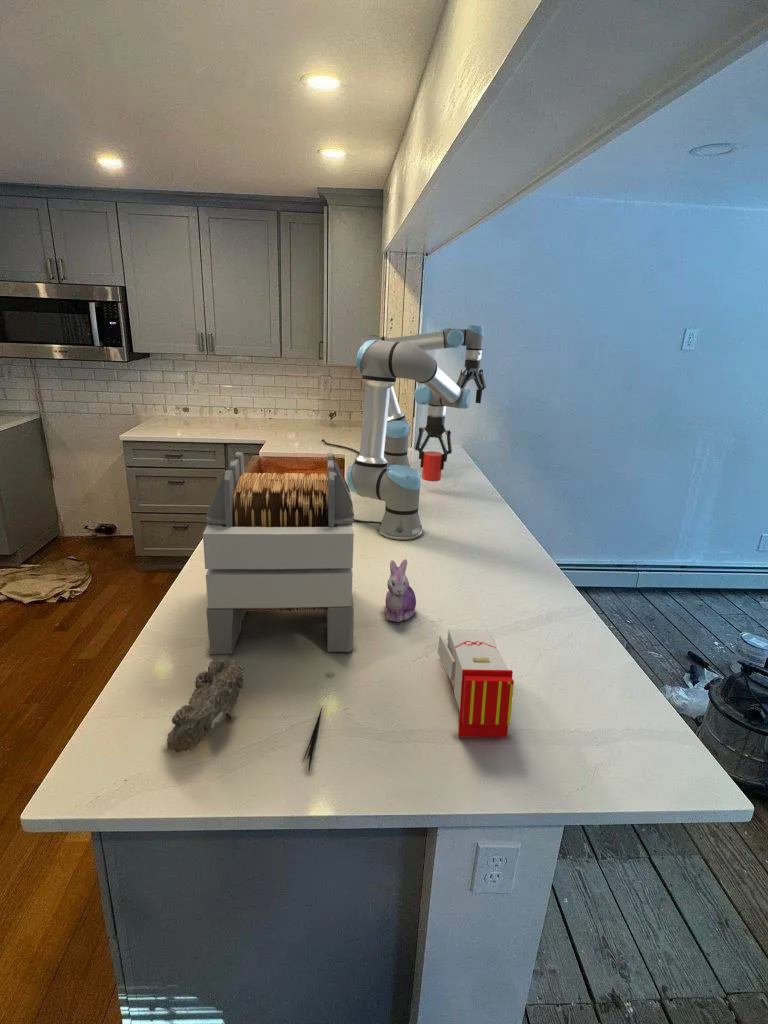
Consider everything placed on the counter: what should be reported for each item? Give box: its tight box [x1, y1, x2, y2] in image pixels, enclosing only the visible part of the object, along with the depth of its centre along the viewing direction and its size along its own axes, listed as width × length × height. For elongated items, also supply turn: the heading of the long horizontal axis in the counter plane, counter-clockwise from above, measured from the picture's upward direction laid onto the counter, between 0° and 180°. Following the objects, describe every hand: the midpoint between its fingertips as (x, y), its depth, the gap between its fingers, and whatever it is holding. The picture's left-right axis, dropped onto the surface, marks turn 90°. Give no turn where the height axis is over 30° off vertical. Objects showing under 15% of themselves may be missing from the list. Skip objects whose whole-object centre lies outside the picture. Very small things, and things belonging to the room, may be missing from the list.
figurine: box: [384, 558, 417, 623], centre depth 145 cm, size 9×10×15 cm
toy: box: [437, 628, 515, 738], centre depth 117 cm, size 12×13×30 cm
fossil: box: [166, 658, 245, 754], centre depth 106 cm, size 22×10×15 cm
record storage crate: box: [202, 451, 355, 655], centre depth 137 cm, size 34×33×41 cm
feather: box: [301, 673, 332, 771], centre depth 108 cm, size 2×28×2 cm
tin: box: [421, 450, 444, 482], centre depth 245 cm, size 8×8×11 cm
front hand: (432, 467), depth 245 cm, fingers closed on tin, 8 cm apart
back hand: (468, 404), depth 278 cm, fingers open, 13 cm apart
